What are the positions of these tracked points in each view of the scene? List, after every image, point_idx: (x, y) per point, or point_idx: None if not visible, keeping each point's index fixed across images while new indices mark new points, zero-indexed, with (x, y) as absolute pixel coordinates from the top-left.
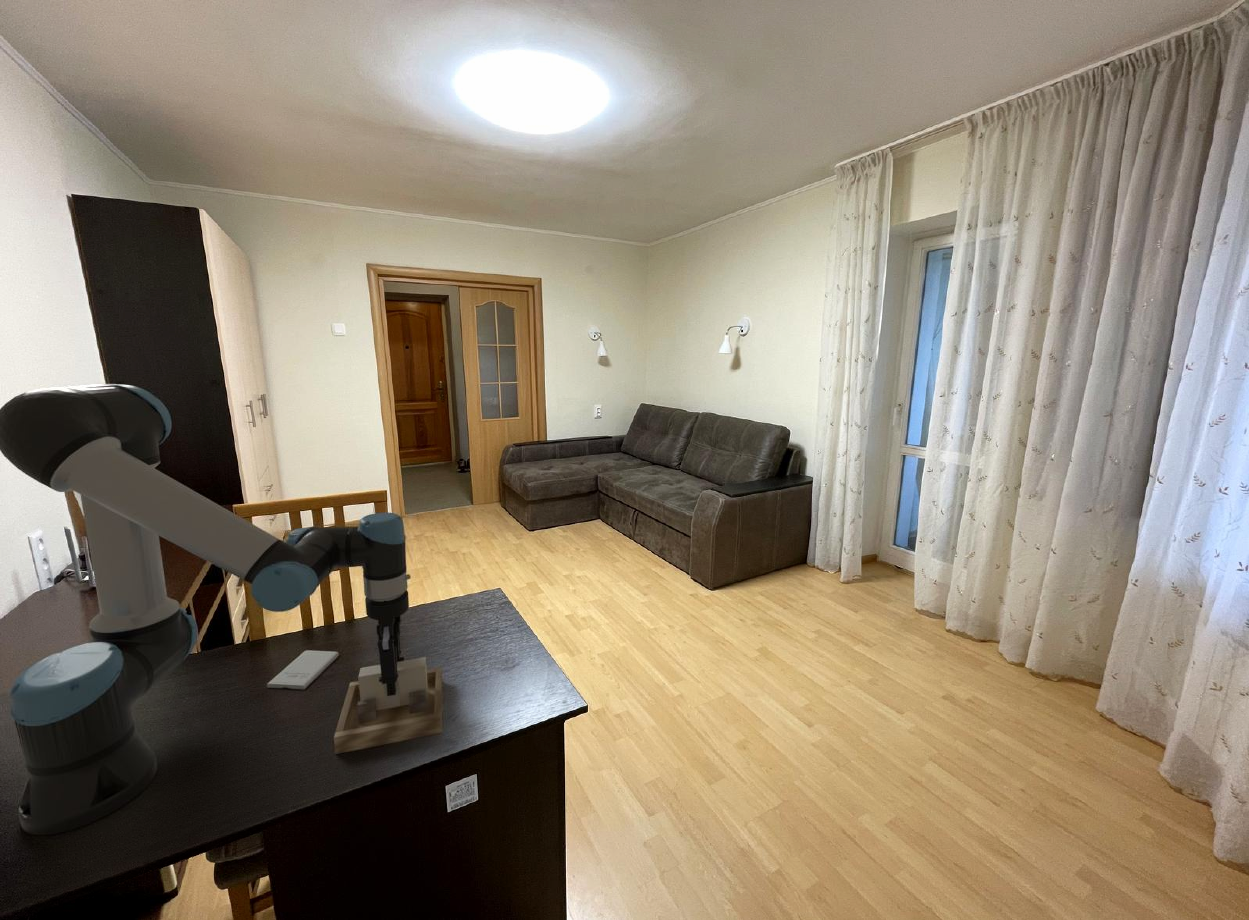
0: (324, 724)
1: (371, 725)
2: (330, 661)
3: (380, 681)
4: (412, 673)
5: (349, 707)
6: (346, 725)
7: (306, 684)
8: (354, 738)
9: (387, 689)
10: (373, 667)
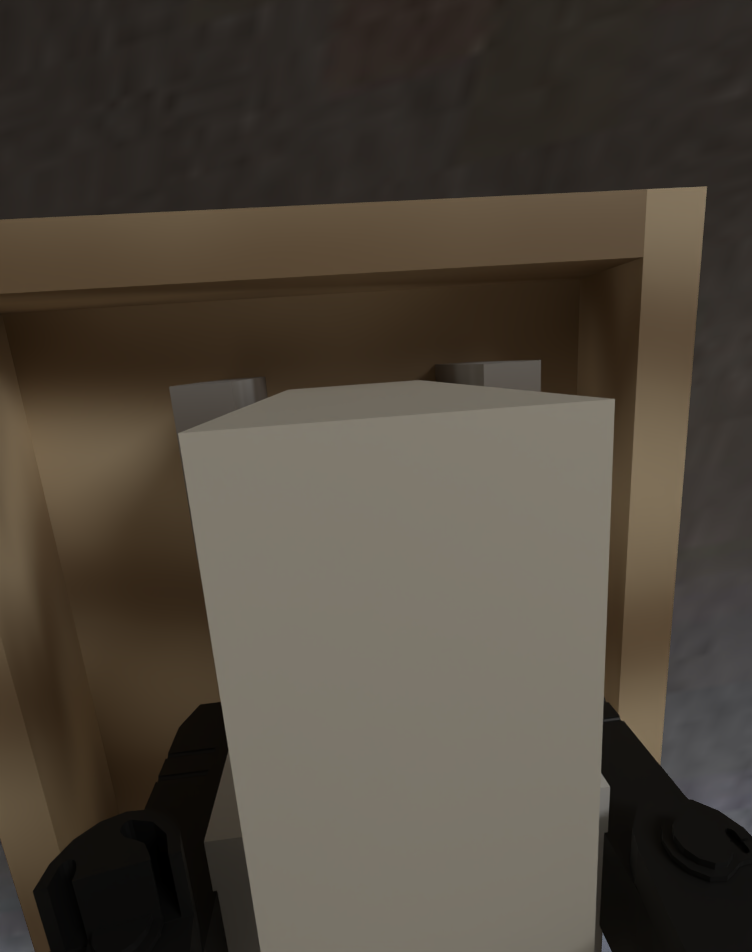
0: (321, 88)
1: (181, 477)
2: None
3: (68, 868)
4: None
5: (286, 278)
6: (121, 298)
7: None
8: None
9: (155, 791)
10: (527, 701)
